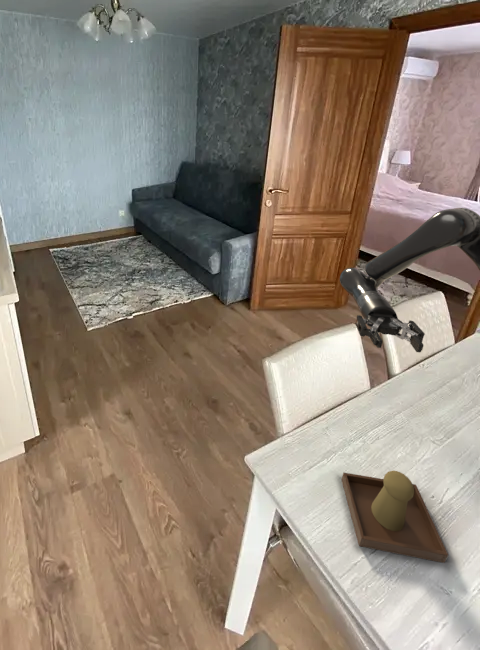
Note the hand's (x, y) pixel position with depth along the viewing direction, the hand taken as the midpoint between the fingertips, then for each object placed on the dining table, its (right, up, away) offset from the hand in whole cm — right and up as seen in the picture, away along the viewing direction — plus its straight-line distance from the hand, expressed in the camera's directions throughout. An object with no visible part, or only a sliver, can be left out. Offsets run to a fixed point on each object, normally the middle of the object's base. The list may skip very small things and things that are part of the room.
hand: (400, 347), depth 80 cm
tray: (-8, -33, -8) cm, 35 cm away
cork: (-8, -33, -8) cm, 35 cm away
